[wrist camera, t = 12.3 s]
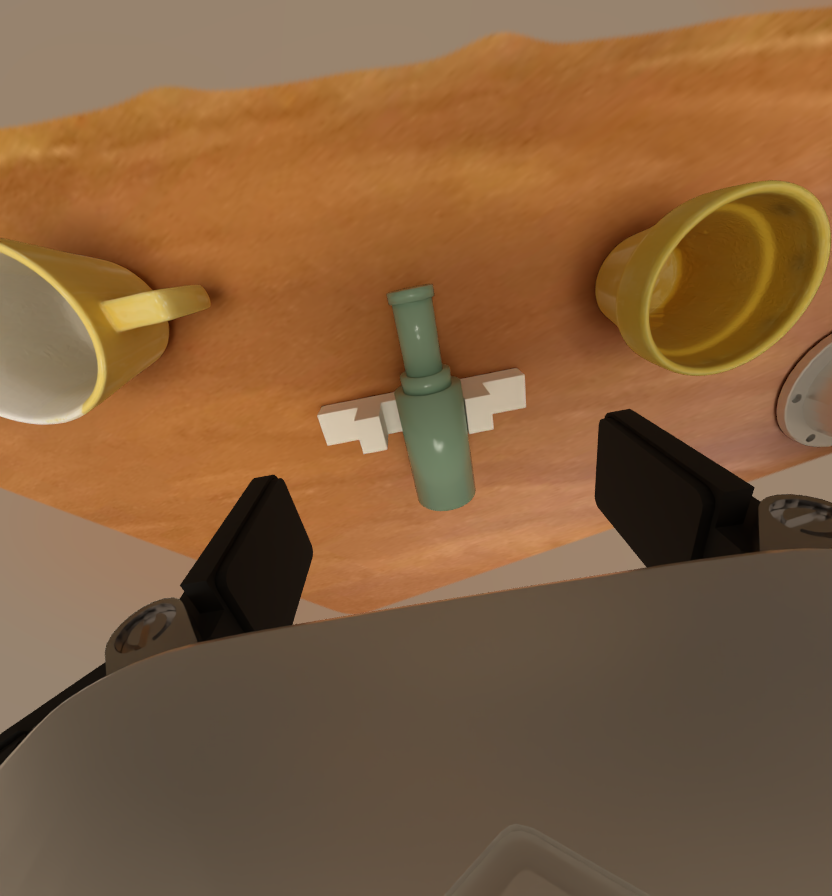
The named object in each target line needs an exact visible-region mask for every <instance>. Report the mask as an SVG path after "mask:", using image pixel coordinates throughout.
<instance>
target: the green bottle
mask: <svg viewBox="0 0 832 896" xmlns="http://www.w3.org/2000/svg"><path fill="white" fill-rule="evenodd" d="M433 296H434V289H433V284H425V285H419V286H413V287H409V288H404V289H400V290H396V291H392V292H389V293H387V299H388V304H389V305H392V309H393V314H394V318H395V323H396V328H397V333H398V338H399V343H400V348H401V352H402V357H403V362H404V367H405V371H404V372H403V373H402V374H401V375H400V380H401V386H399V387H398V388H397V389H396V390H395V392H394V396H395V400H396V404H397V409H398V413H399V417H400V422H401V426H402V431H403V435H404V439H405V444H406V448H407V452H408V457H409V461H410V466H411V470H412V474H413V479H414V483H415V487H416V492H417V496H418V500H419V502H420V503H421V505H423V506H424V507H426V508H428V509H431V510H435V511H448V510H453V509H457V508H459V507H462V506H464V505H465V504H467V503H468V502H470V501H471V500H472V498H473V497H474V495H475V491H476V490H475V482H474V475H473V467H472V460H471V452H470V445H469V437H468V430H467V422H466V415H465V408H464V400H463V393H462V385H461V380H460V379H459V378H457V377H455V376H451V374H450V367H449V366H448V365H446V364H442V359H441V353H440V346H439V340H438V334H437V327H436V321H435V314H434V308H433V302H432V297H433Z"/></svg>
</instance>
